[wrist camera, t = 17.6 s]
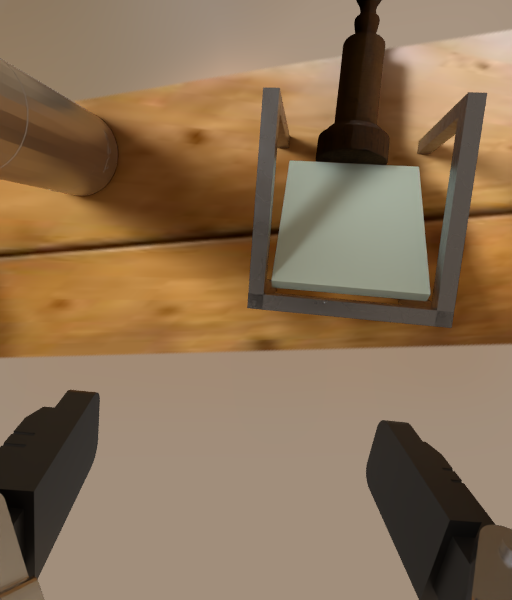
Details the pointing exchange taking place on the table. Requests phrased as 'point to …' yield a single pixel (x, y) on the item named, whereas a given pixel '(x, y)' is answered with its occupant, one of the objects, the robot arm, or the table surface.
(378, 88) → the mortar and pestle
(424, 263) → the trapdoor
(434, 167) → the table surface
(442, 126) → the frame
